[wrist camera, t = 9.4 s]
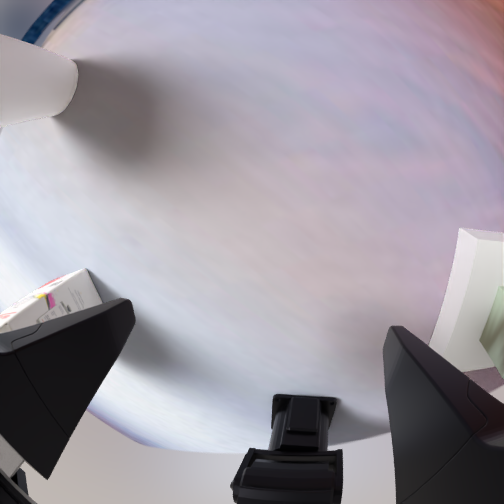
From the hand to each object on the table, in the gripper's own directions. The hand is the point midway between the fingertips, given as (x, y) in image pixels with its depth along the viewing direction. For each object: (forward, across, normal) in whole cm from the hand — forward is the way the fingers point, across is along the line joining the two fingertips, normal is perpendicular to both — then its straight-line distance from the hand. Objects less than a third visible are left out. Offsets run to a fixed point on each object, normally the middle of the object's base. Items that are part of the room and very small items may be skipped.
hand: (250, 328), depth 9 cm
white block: (+12, -20, +5) cm, 24 cm away
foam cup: (+12, +22, -15) cm, 30 cm away
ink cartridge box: (+12, +23, +8) cm, 28 cm away
